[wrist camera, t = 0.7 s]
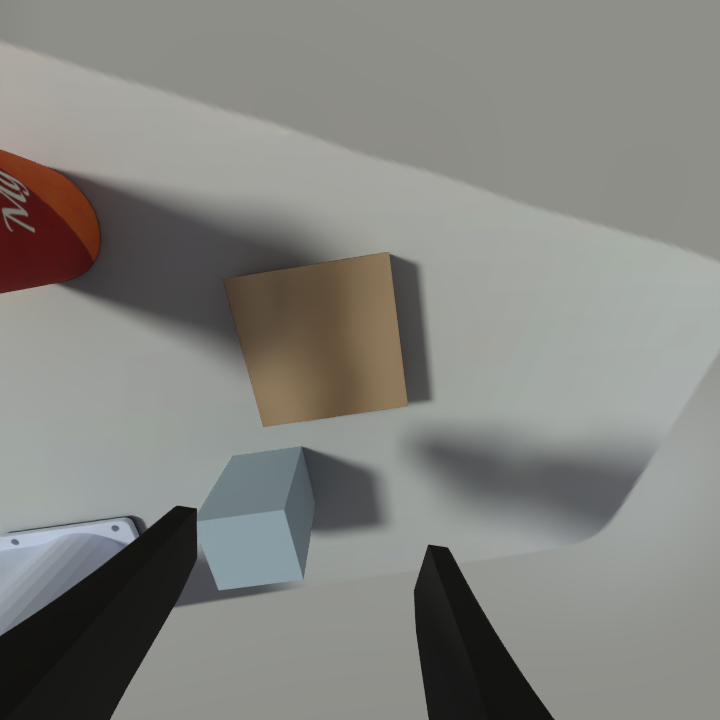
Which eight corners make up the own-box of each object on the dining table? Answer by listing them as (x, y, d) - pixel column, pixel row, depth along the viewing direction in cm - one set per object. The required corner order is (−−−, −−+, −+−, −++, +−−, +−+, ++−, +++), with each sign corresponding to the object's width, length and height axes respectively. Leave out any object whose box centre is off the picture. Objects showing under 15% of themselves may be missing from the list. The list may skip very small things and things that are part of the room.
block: (250, 512, 23) (218, 590, 17) (232, 455, 21) (192, 522, 16) (315, 503, 23) (303, 579, 17) (301, 446, 21) (283, 509, 16)
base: (272, 410, 20) (263, 426, 18) (236, 276, 18) (222, 279, 16) (403, 391, 20) (407, 406, 18) (385, 252, 18) (389, 252, 16)
